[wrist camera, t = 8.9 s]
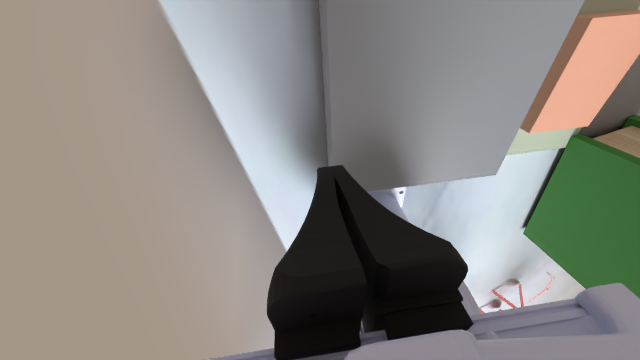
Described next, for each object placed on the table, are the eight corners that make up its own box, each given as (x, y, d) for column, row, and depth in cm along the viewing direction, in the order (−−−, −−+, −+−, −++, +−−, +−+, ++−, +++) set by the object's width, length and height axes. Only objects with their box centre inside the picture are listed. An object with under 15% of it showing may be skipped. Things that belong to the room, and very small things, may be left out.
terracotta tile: (529, 133, 22) (513, 124, 24) (588, 126, 22) (568, 117, 24) (592, 18, 16) (566, 16, 18) (670, 10, 17) (637, 9, 18)
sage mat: (564, 145, 27) (569, 147, 26) (473, 156, 26) (476, 159, 26) (708, -69, 16) (718, -70, 16) (560, -57, 16) (566, -58, 15)
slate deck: (470, 153, 26) (495, 174, 23) (328, 171, 25) (334, 196, 22) (549, -46, 16) (613, -56, 13) (316, -26, 15) (325, -32, 12)
